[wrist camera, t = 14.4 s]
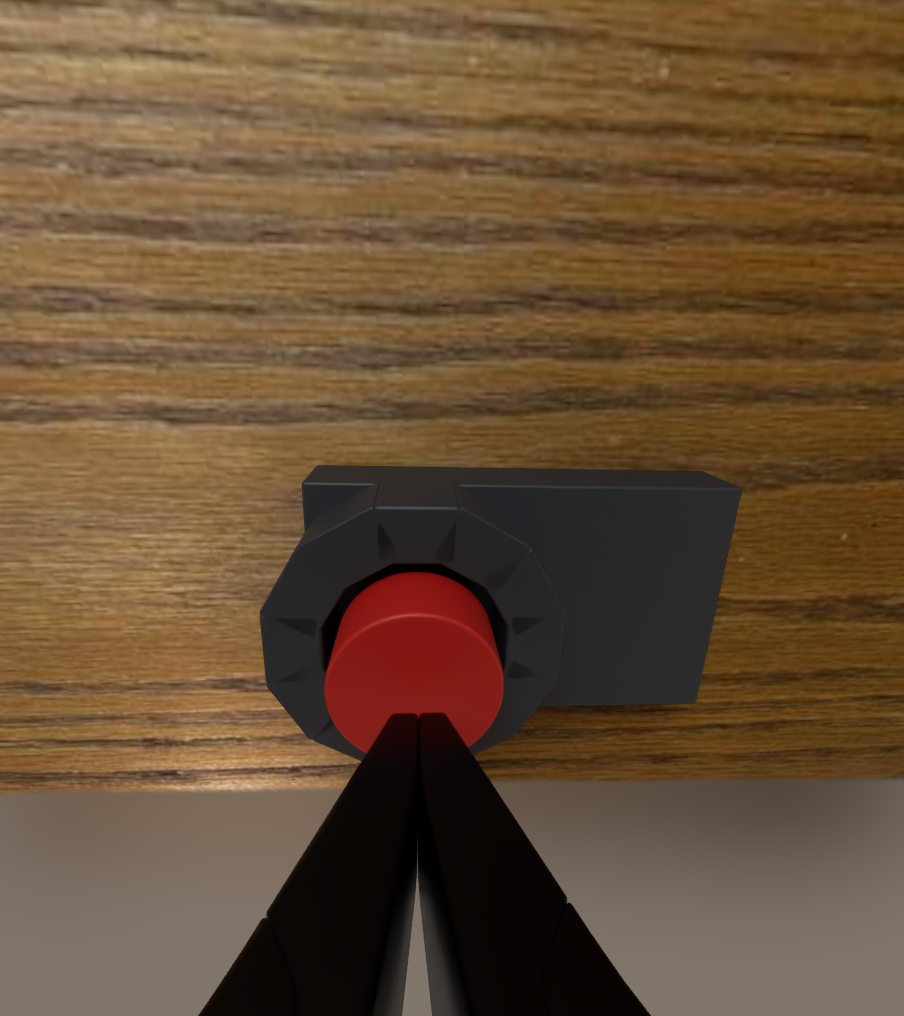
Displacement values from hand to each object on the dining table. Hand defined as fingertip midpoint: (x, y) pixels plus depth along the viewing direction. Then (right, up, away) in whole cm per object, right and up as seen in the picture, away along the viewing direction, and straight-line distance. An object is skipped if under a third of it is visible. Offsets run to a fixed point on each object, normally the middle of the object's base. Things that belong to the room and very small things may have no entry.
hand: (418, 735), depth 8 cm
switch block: (+2, +2, +6) cm, 6 cm away
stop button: (0, +1, +3) cm, 3 cm away
